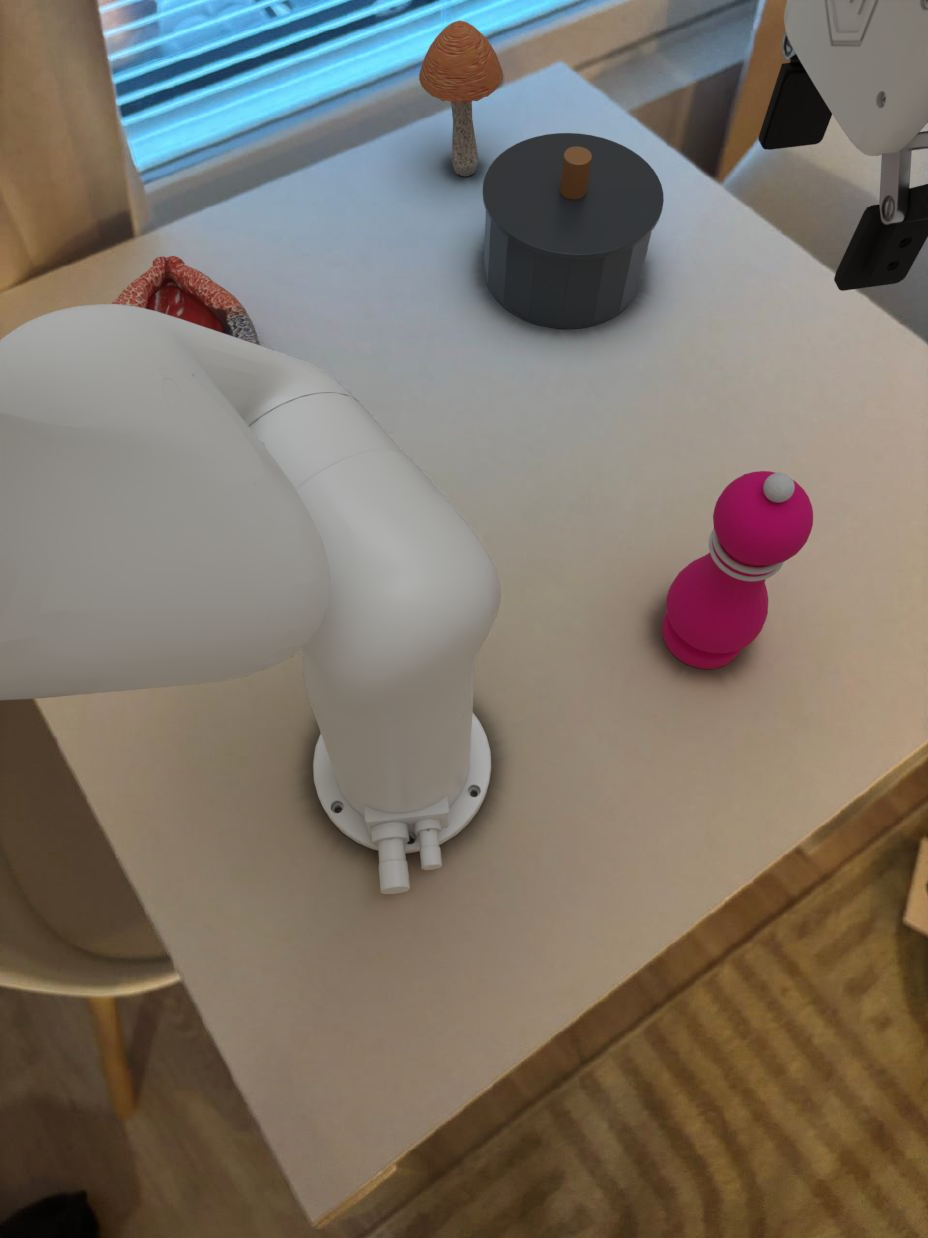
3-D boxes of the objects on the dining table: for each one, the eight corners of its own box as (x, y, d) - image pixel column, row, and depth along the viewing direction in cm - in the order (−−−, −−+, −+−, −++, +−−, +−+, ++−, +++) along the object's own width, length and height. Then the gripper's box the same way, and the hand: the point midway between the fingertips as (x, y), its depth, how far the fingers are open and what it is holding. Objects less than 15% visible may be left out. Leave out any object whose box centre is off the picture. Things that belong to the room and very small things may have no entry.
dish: (75, 574, 75) (51, 540, 70) (107, 294, 89) (89, 251, 84) (272, 560, 75) (261, 525, 71) (273, 285, 90) (264, 242, 85)
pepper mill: (747, 597, 75) (840, 435, 57) (750, 680, 71) (851, 536, 53) (655, 588, 75) (720, 425, 57) (655, 670, 71) (723, 524, 54)
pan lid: (679, 257, 81) (691, 212, 77) (495, 271, 80) (498, 226, 76) (640, 137, 88) (649, 90, 84) (471, 149, 87) (472, 102, 83)
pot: (654, 322, 88) (674, 248, 81) (496, 335, 87) (500, 261, 80) (622, 213, 95) (637, 135, 88) (475, 224, 94) (477, 146, 87)
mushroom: (409, 155, 99) (403, 6, 86) (478, 135, 100) (482, -14, 87) (440, 202, 95) (439, 55, 82) (511, 181, 97) (520, 33, 84)
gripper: (807, -366, 33) (692, 104, 48) (1048, -109, 25) (819, 356, 40) (1005, -377, 33) (831, 88, 49) (1300, -132, 26) (982, 333, 41)
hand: (825, 209), depth 44 cm, fingers open, 9 cm apart
